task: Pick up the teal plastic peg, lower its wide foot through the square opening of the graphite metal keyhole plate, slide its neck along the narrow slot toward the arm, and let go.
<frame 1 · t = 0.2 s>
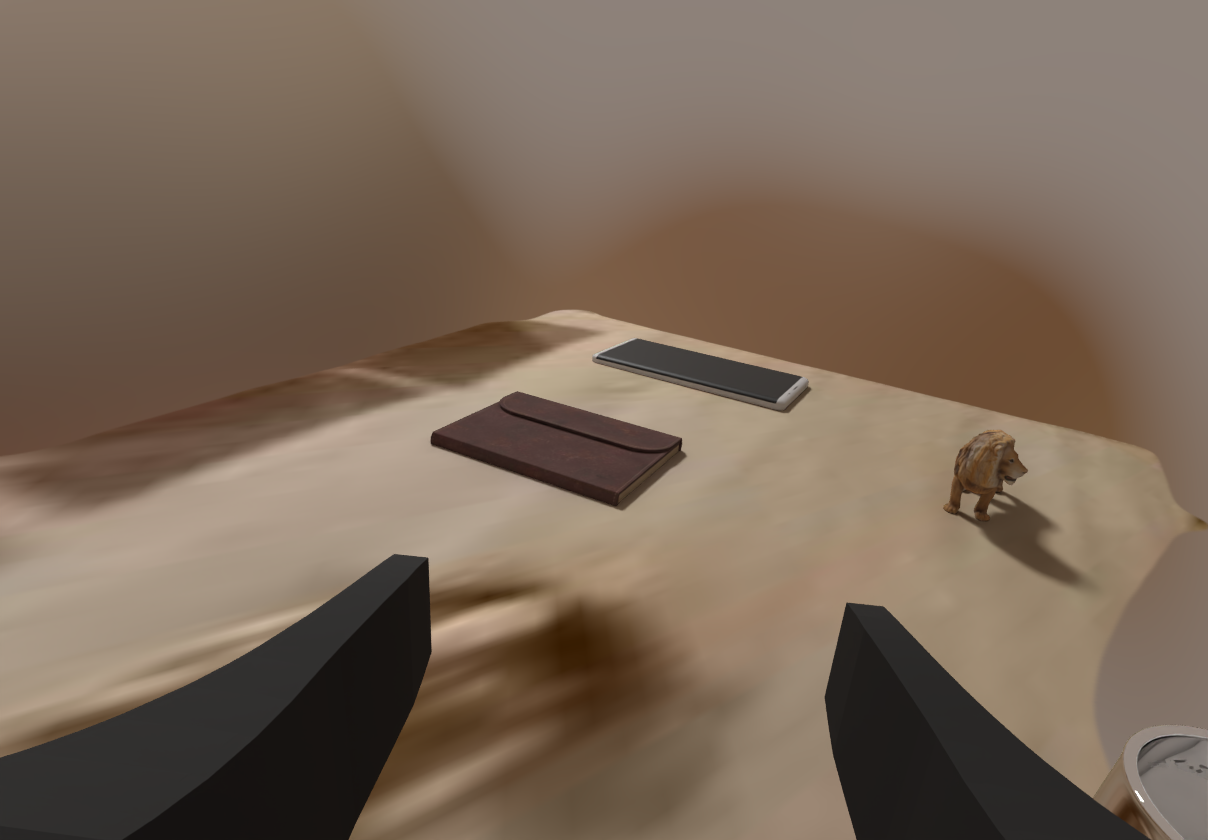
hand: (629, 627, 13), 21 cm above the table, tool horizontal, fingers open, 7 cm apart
notebook: (559, 453, 72), on the table
smartphone: (698, 378, 100), on the table
lion figurine: (975, 508, 69), on the table
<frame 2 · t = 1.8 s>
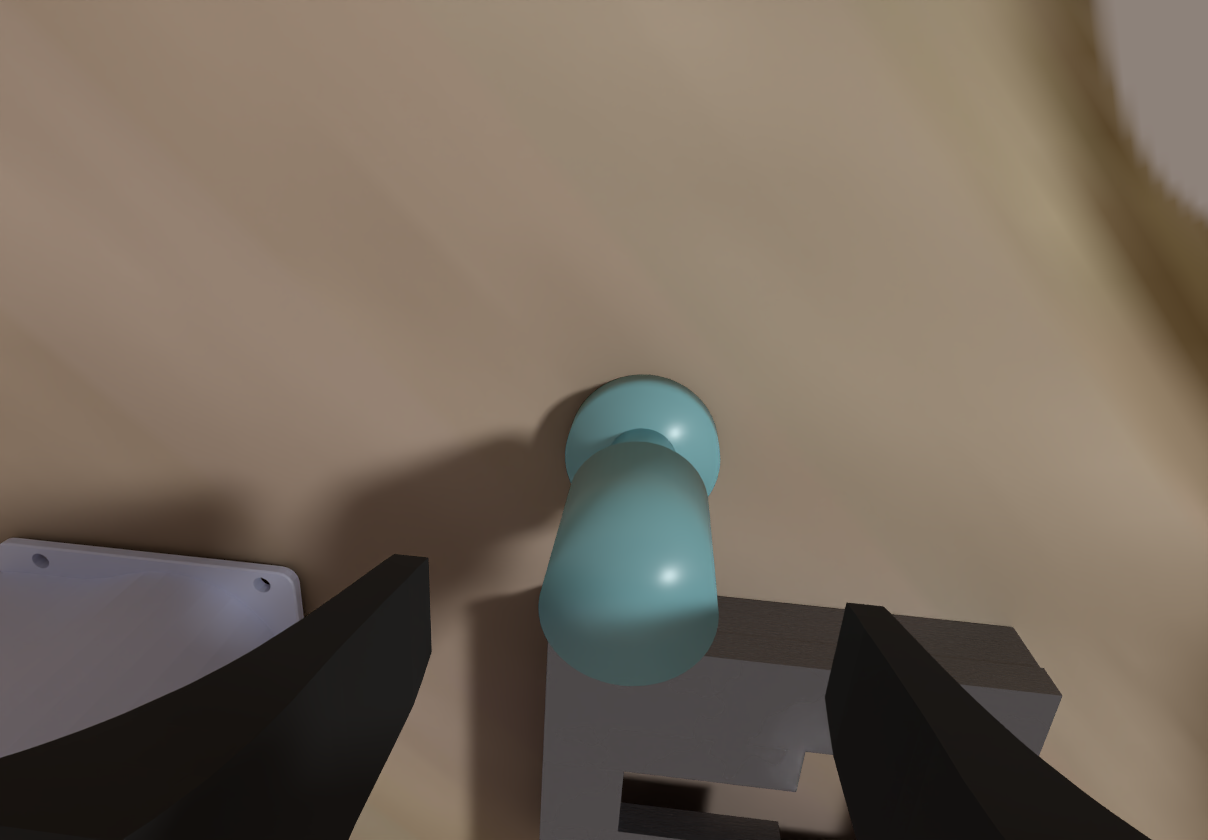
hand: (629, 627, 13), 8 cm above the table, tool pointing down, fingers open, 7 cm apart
peg: (643, 444, 20), on the table
keyhole plate: (757, 742, 23), on the table
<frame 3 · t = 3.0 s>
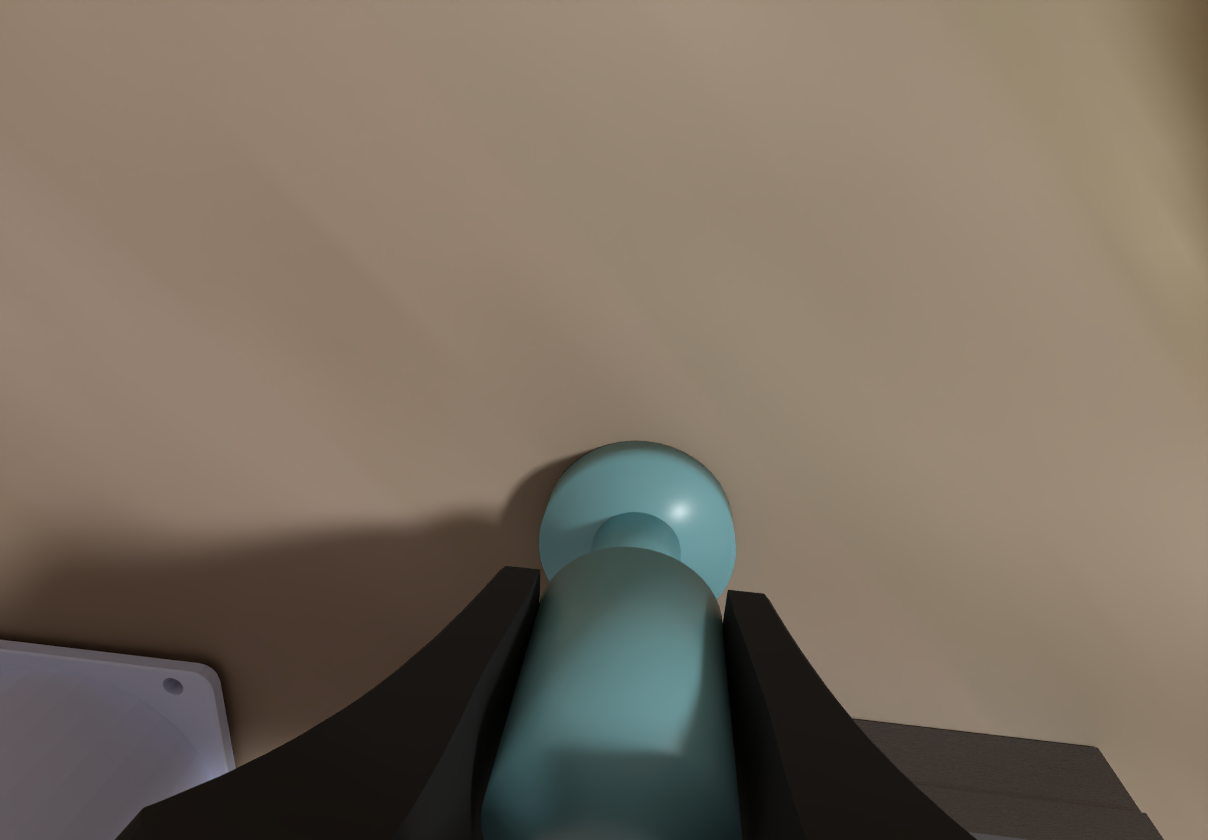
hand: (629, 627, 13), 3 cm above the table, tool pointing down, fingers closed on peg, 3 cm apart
peg: (638, 525, 16), on the table, touching gripper
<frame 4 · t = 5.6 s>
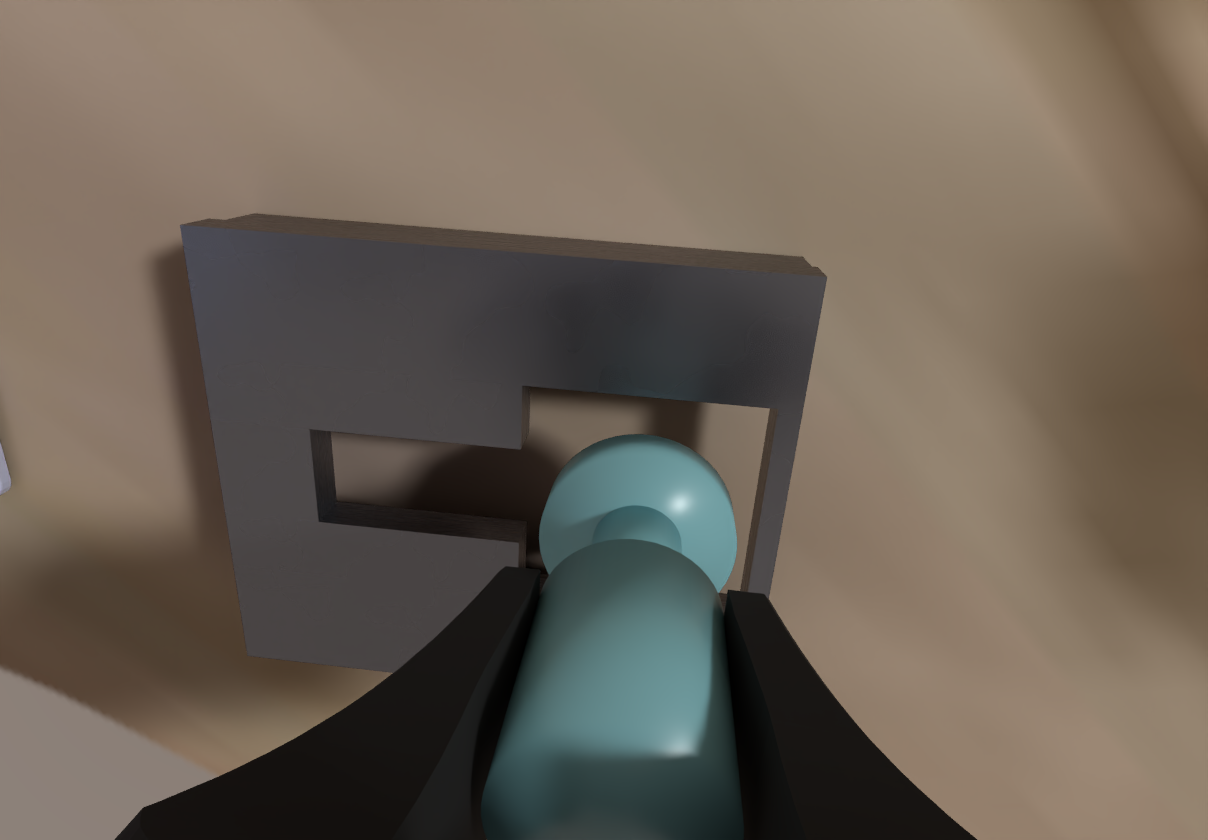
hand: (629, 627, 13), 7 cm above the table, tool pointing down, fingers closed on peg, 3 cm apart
peg: (639, 519, 16), point 4 cm above the table, touching gripper
keyhole plate: (518, 444, 19), on the table
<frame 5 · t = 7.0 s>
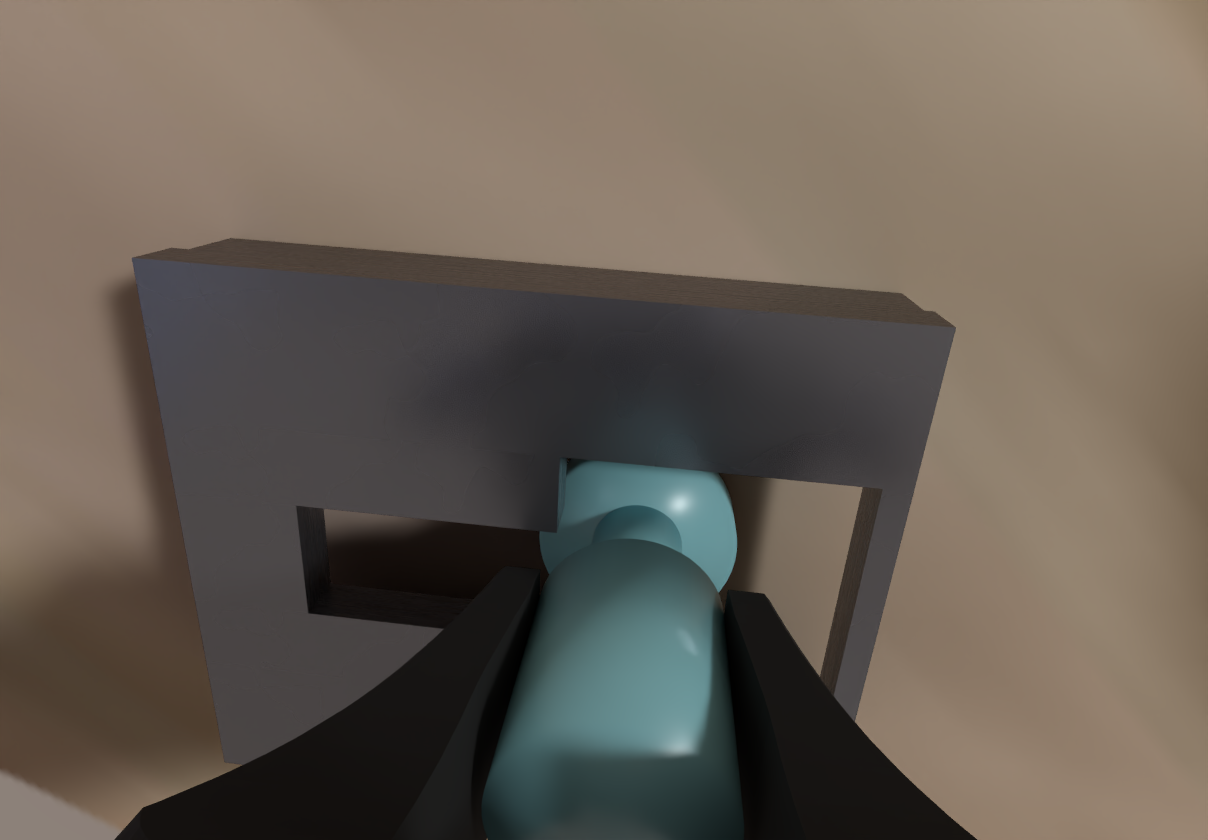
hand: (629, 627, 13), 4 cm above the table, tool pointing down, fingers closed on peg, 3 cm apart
peg: (639, 519, 16), on the table, touching gripper
keyhole plate: (547, 510, 16), on the table
when the fingers open (4 cm above the table, at t = 8.4 s): peg stays where it is, on the table.
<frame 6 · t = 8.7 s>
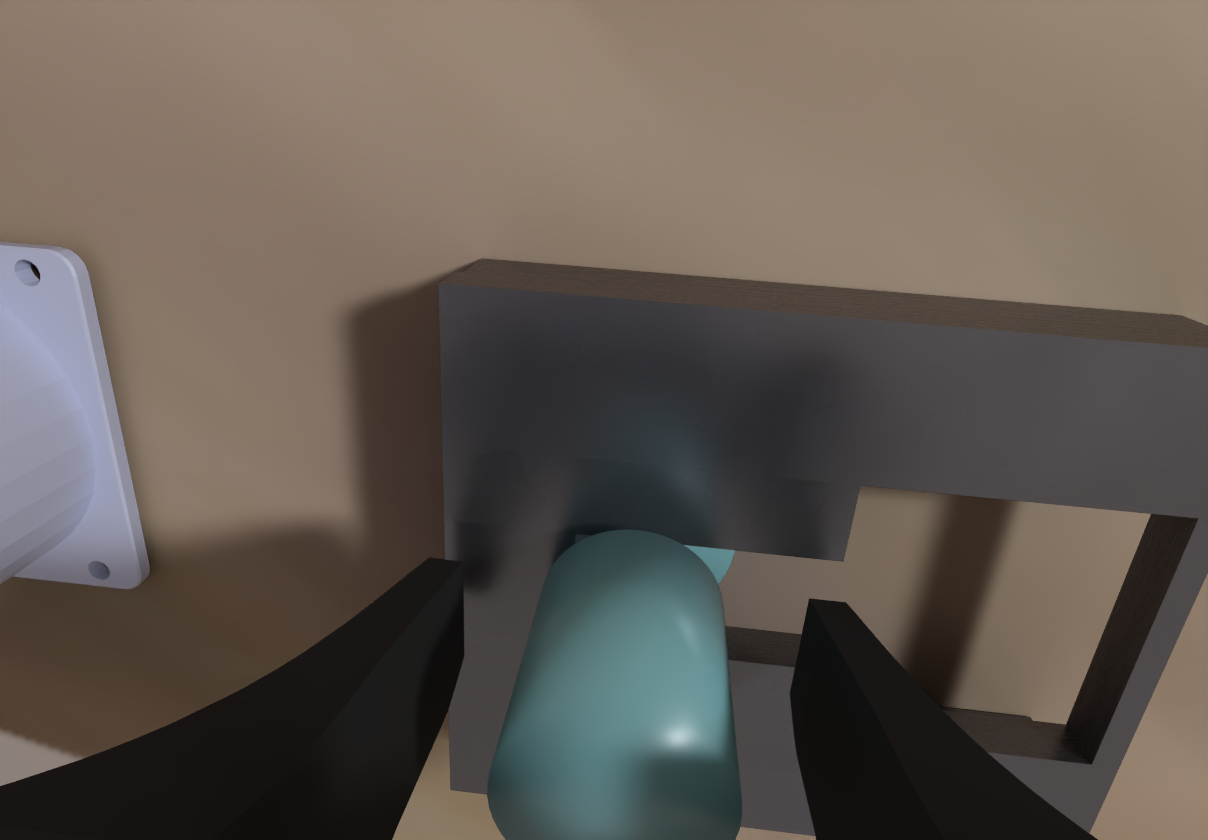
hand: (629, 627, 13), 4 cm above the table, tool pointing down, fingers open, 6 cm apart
peg: (640, 512, 16), on the table
keyhole plate: (777, 533, 16), on the table
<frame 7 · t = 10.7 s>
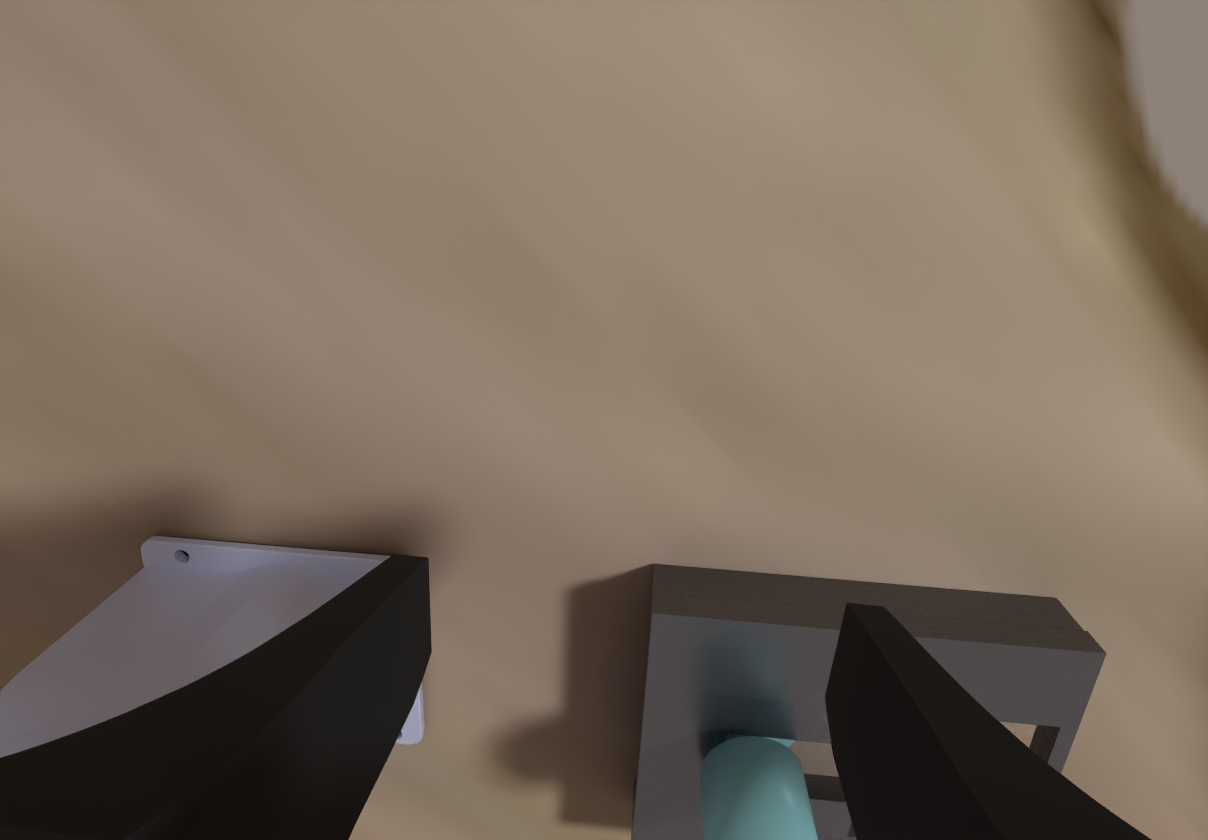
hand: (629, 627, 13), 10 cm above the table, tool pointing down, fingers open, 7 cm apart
peg: (740, 697, 26), on the table
keyhole plate: (825, 709, 26), on the table
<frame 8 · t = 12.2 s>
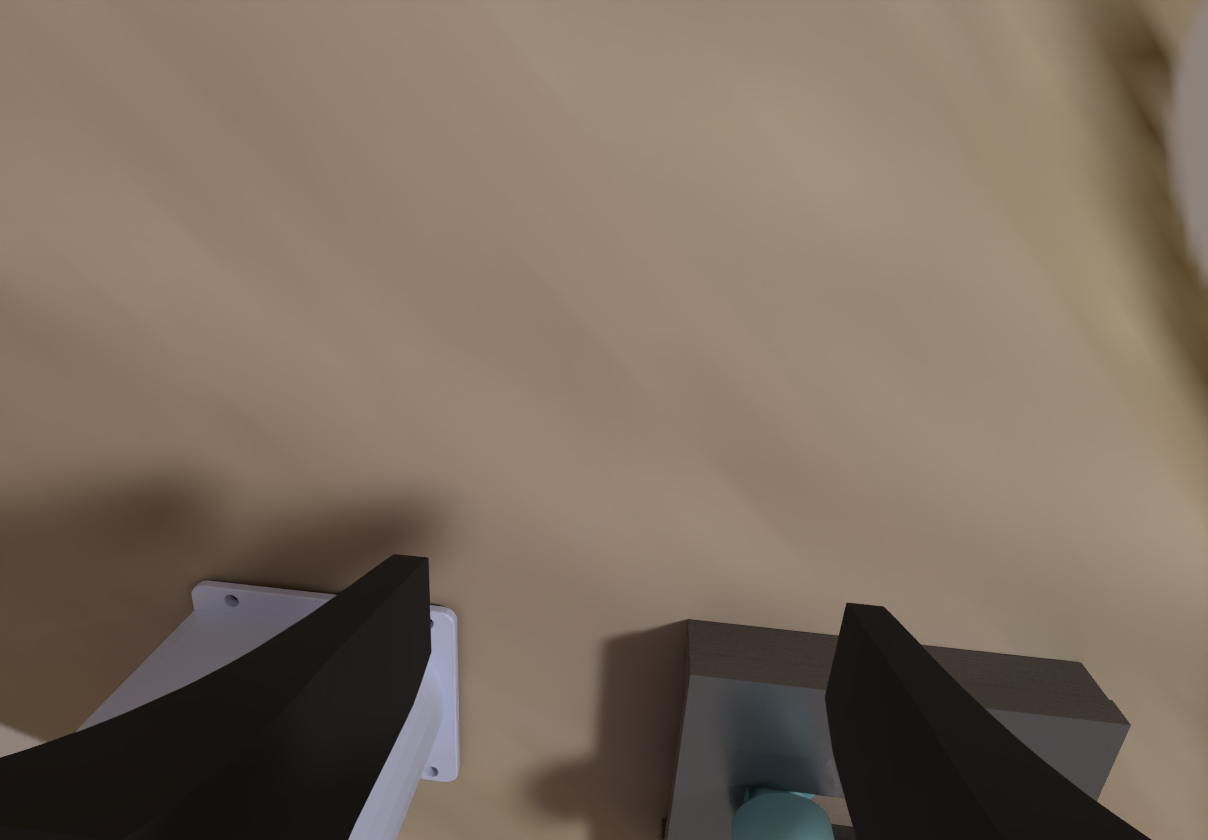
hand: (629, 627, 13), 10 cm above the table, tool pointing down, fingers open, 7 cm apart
peg: (768, 746, 27), on the table
keyhole plate: (850, 759, 27), on the table
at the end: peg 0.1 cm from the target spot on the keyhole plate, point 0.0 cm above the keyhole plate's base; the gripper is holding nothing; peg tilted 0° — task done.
